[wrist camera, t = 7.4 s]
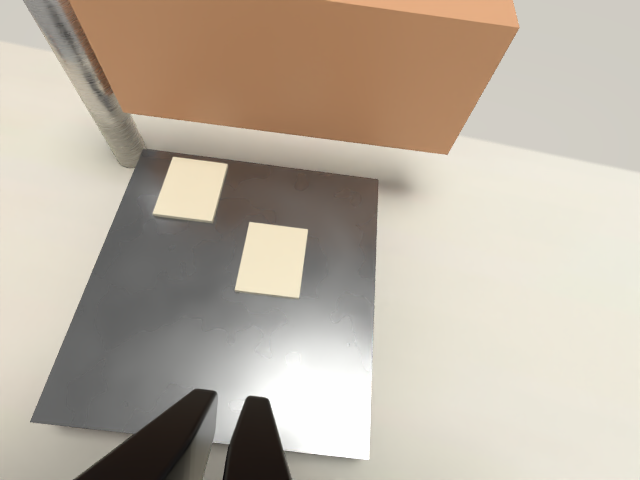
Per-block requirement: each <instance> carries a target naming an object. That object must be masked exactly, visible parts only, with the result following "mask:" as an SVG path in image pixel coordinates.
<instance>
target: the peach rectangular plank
mask: <svg viewBox="0 0 640 480" xmlns="http://www.w3.org/2000/svg"><path fill="white" fill-rule="evenodd" d="M69 2H70V4H71V6H72V8H73V10H74V12H75V14H76V16H77V18H78V20H79V22H80V25H81V27H82V29H83V31H84V33H85V35H86V37H87V39H88V41H89V43H90V45H91V47H92V49H93V51H94V53H95V55H96V57H97V59H98V61H99V63H100V66H101V68H102V70H103V72H104V74H105V76H106V78H107V80H108V82H109V84H110V86H111V88H112V90H113V92H114V94H115V96H116V98H117V100H118V102H119V104H120V107H121V109H122V111H123V113H130V114H138V115H146V116H153V117H161V118H169V119H177V120H184V121H192V122H200V123H207V124H215V125H223V126H230V127H238V128H246V129H253V130H261V131H269V132H277V133H284V134H292V135H300V136H307V137H315V138H323V139H330V140H338V141H346V142H353V143H361V144H369V145H377V146H384V147H392V148H400V149H407V150H415V151H423V152H430V153H438V154H446V155H448V153H449V151H450V149H451V147H452V146H453V144H454V142H455V140H456V139H457V137H458V135H459V133H460V132H461V130H462V128H463V126H464V125H465V123H466V121H467V119H468V117H469V116H470V114H471V112H472V111H473V109H474V107H475V105H476V103H477V101H478V100H479V98H480V96H481V95H482V93H483V91H484V89H485V88H486V86H487V84H488V82H489V81H490V79H491V77H492V75H493V74H494V72H495V70H496V68H497V66H498V65H499V63H500V61H501V59H502V58H503V56H504V54H505V52H506V51H507V49H508V47H509V45H510V44H511V42H512V40H513V38H514V37H515V35H516V33H517V31H518V29H519V24H518V20H517V16H516V12H515V8H514V3H513V0H69Z"/></svg>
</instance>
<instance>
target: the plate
mask: <svg viewBox="0 0 640 480" xmlns="http://www.w3.org/2000/svg"><path fill="white" fill-rule="evenodd" d="M23 1H24V3H25V4H26V6H27V8H28V9H29V11H30V13H31V15H32V16H33V18H34V20H35V21H36V23H37V25H38V27H39V28H40V30H41V32H42V33H43V35H44V37H45V38H46V40H47V42H48V43H49V45H50V47H51V49H52V50H53V52H54V54H55V55H56V57H57V59H58V60H59V62H60V64H61V65H62V67H63V69H64V70H65V72H66V74H67V76H68V77H69V79H70V81H71V82H72V84H73V86H74V87H75V89H76V91H77V92H78V94H79V96H80V98H81V99H82V101H83V103H84V104H85V106H86V108H87V109H88V111H89V113H90V114H91V116H92V118H93V120H94V121H95V123H96V125H97V126H98V128H99V130H100V131H101V133H102V135H103V136H104V138H105V140H106V142H107V143H108V145H109V147H110V148H111V150H112V152H113V153H114V155H115V157H116V158H117V160H118V162H119V163H120V164H121V165H122V166H124V167H128V168H133V167H135V170H134V172H133V174H132V177H131V179H130V182H129V184H128V186H127V189H126V191H125V194H124V196H123V199H122V201H121V203H120V206H119V208H118V211H117V213H116V215H115V218H114V220H113V223H112V225H111V228H110V230H109V232H108V235H107V237H106V240H105V242H104V244H103V247H102V249H101V252H100V254H99V256H98V259H97V261H96V264H95V266H94V269H93V271H92V273H91V276H90V278H89V281H88V283H87V285H86V288H85V290H84V293H83V295H82V298H81V300H80V302H79V305H78V307H77V310H76V312H75V314H74V317H73V319H72V322H71V324H70V327H69V329H68V331H67V334H66V336H65V339H64V341H63V343H62V346H61V348H60V351H59V353H58V356H57V358H56V360H55V363H54V365H53V368H52V370H51V372H50V375H49V377H48V380H47V382H46V384H45V387H44V389H43V392H42V394H41V397H40V399H39V401H38V404H37V406H36V409H35V411H34V413H33V416H32V418H31V421H30V422H33V423H42V424H51V425H60V426H69V427H78V428H87V429H96V430H105V431H114V432H123V433H132V434H135V433H136V432H138V431H139V430H140V429H142V428H143V427H144V426H146V425H147V424H148V423H150V422H151V421H152V420H154V419H155V418H156V417H158V416H159V415H160V414H162V413H163V412H164V411H166V410H167V409H168V408H170V407H171V406H172V405H174V404H175V403H176V402H178V401H179V400H180V399H182V398H183V397H184V396H186V395H187V394H188V393H190V392H191V391H192V390H194V389H206V390H214V391H216V392H217V394H218V404H217V418H216V429H215V435H214V439H213V443H221V444H230V440H231V437H232V435H233V432H234V429H235V426H236V424H237V421H238V418H239V415H240V412H241V410H242V407H243V404H244V401H245V399H246V397H247V396H249V395H251V396H259V397H266V398H268V399H269V401H270V404H271V408H272V411H273V415H274V418H275V422H276V425H277V429H278V432H279V436H280V439H281V443H282V446H283V450H284V451H293V452H302V453H311V454H320V455H329V456H338V457H347V458H356V459H365V460H369V448H370V418H371V388H372V357H373V327H374V296H375V266H376V236H377V205H378V179H371V178H363V177H355V176H348V175H340V174H332V173H325V172H317V171H310V170H302V169H294V168H287V167H279V166H272V165H264V164H256V163H249V162H241V161H233V160H226V159H218V158H211V157H203V156H195V155H188V154H180V153H172V152H165V151H157V150H150V149H147V148H146V146H145V144H144V141H143V139H142V137H141V135H140V133H139V131H138V129H137V126H136V124H135V122H134V120H133V118H132V116H131V114H130V113H123V111H122V109H121V107H120V104H119V102H118V100H117V98H116V96H115V94H114V92H113V90H112V88H111V86H110V84H109V82H108V80H107V78H106V76H105V74H104V72H103V70H102V68H101V66H100V63H99V61H98V59H97V57H96V55H95V53H94V51H93V49H92V47H91V45H90V43H89V41H88V39H87V37H86V35H85V33H84V31H83V29H82V27H81V25H80V22H79V20H78V18H77V16H76V14H75V12H74V10H73V8H72V6H71V4H70V2H69V0H23Z"/></svg>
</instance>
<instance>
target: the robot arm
mask: <svg viewBox="0 0 640 480" xmlns="http://www.w3.org/2000/svg"><path fill="white" fill-rule="evenodd" d="M217 404H218V394H217V392H216V391H214V390H206V389H194V390H192V391H191V392H190V393H188V394H187V395H186V396H184V397H183V398H182V399H180V400H179V401H178V402H176V403H175V404H174V405H172V406H171V407H170V408H168V409H167V410H166V411H164V412H163V413H162V414H160V415H159V416H158V417H156V418H155V419H154V420H152V421H151V422H150V423H148V424H147V425H146V426H144V427H143V428H142V429H140V430H139V431H138V432H136V433H135V434H134V435H132V436H131V437H130V438H128V439H127V440H126V441H124V442H123V443H122V444H120V445H119V446H118V447H116V448H115V449H114V450H112V451H111V452H110V453H108V454H107V455H106V456H104V457H103V458H102V459H100V460H99V461H98V462H96V463H95V464H94V465H92V466H91V467H90V468H88V469H87V470H86V471H84V472H83V473H82V474H80V475H79V476H78V477H76V478H75V479H74V480H202V478H203V474H204V471H205V467H206V464H207V460H208V457H209V453H210V450H211V447H212V443H213V439H214V435H215V429H216V418H217ZM223 480H292V478H291V474H290V471H289V467H288V464H287V460H286V457H285V453H284V450H283V446H282V443H281V439H280V436H279V432H278V429H277V425H276V422H275V418H274V415H273V411H272V408H271V404H270V401H269V399H268V398H266V397H259V396H251V395H249V396H247V397H246V399H245V401H244V404H243V407H242V410H241V412H240V415H239V418H238V421H237V424H236V426H235V429H234V432H233V435H232V437H231V440H230V444H229V447H228V451H227V456H226V462H225V468H224V475H223Z"/></svg>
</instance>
